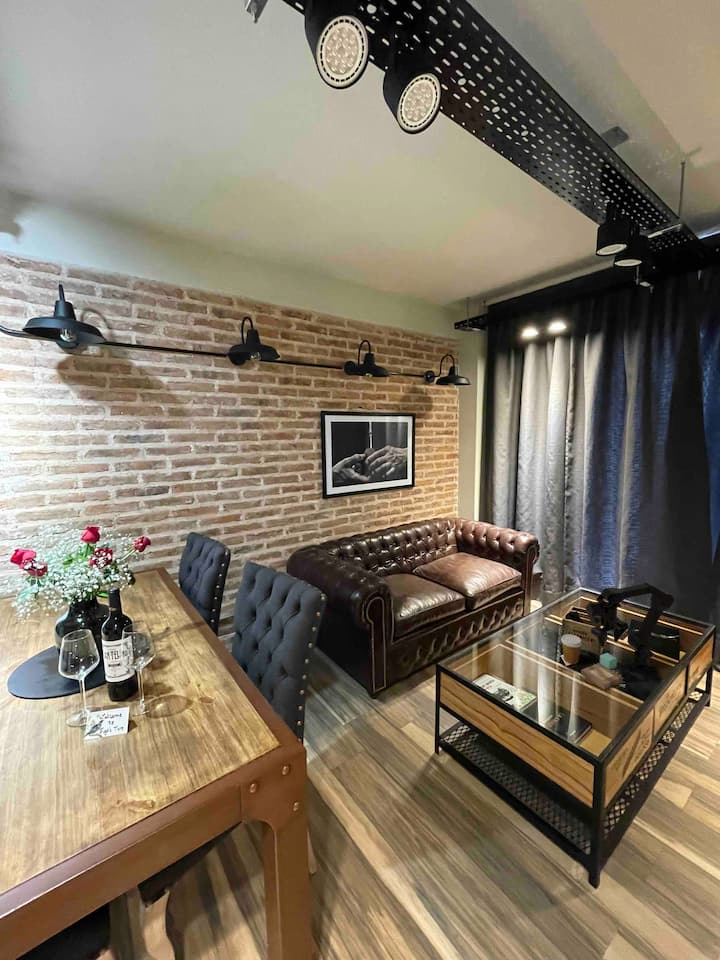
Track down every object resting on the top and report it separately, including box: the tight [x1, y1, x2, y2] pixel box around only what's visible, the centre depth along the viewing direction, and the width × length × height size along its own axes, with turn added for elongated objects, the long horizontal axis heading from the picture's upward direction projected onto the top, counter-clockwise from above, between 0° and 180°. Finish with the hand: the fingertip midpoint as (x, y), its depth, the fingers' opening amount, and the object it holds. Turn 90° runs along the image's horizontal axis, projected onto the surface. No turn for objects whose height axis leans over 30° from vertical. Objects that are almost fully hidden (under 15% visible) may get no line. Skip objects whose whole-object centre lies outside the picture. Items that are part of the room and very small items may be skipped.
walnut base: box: [580, 662, 624, 691], centre depth 189 cm, size 12×12×2 cm
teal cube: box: [599, 652, 618, 670], centre depth 197 cm, size 5×5×5 cm
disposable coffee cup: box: [560, 633, 583, 665], centre depth 203 cm, size 10×10×12 cm
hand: (609, 644), depth 196 cm, fingers open, 9 cm apart
